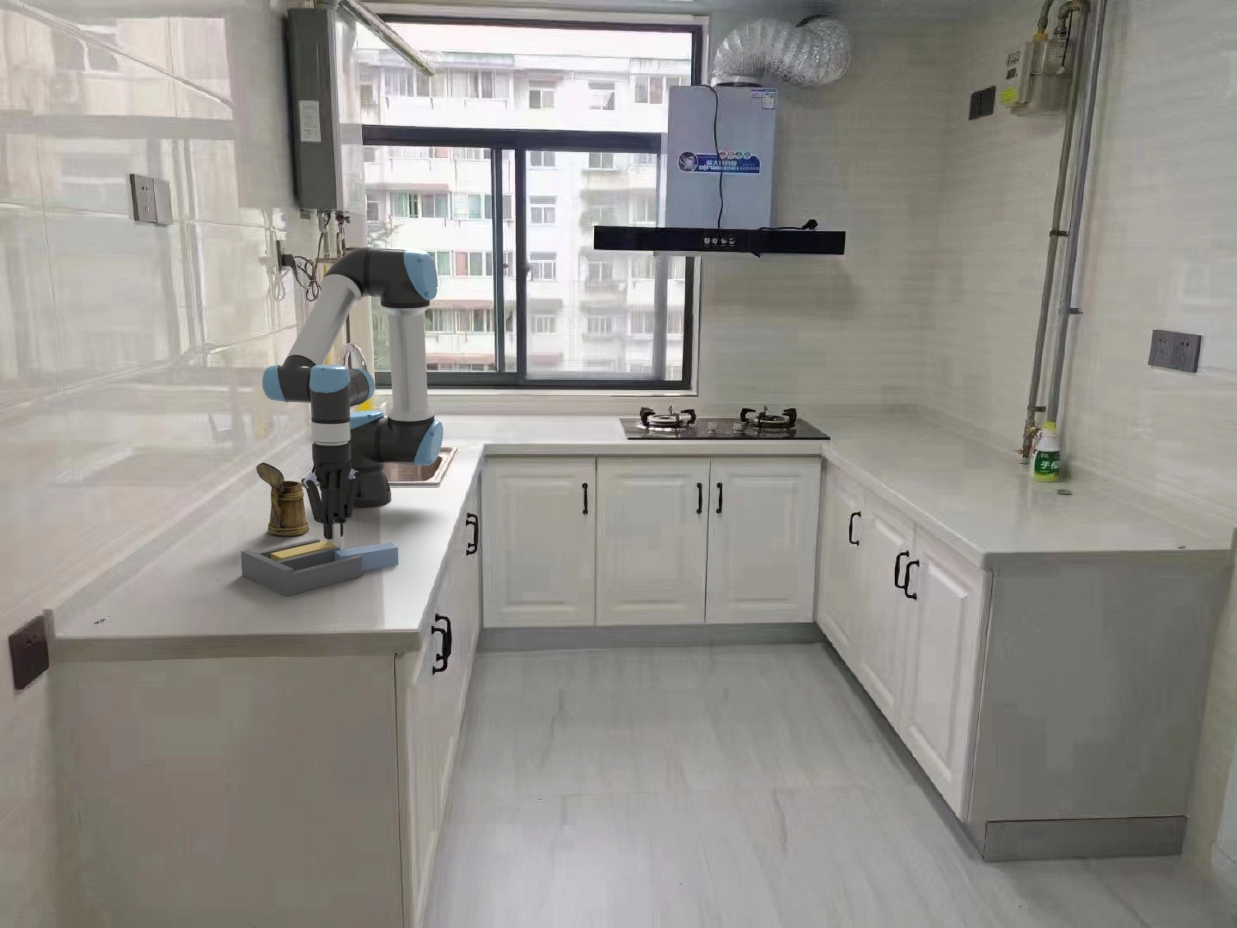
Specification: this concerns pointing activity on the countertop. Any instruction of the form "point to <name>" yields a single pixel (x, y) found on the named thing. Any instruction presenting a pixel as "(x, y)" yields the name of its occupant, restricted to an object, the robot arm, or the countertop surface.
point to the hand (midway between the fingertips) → (333, 552)
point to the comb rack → (299, 569)
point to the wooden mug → (284, 503)
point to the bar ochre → (301, 550)
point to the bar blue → (371, 555)
